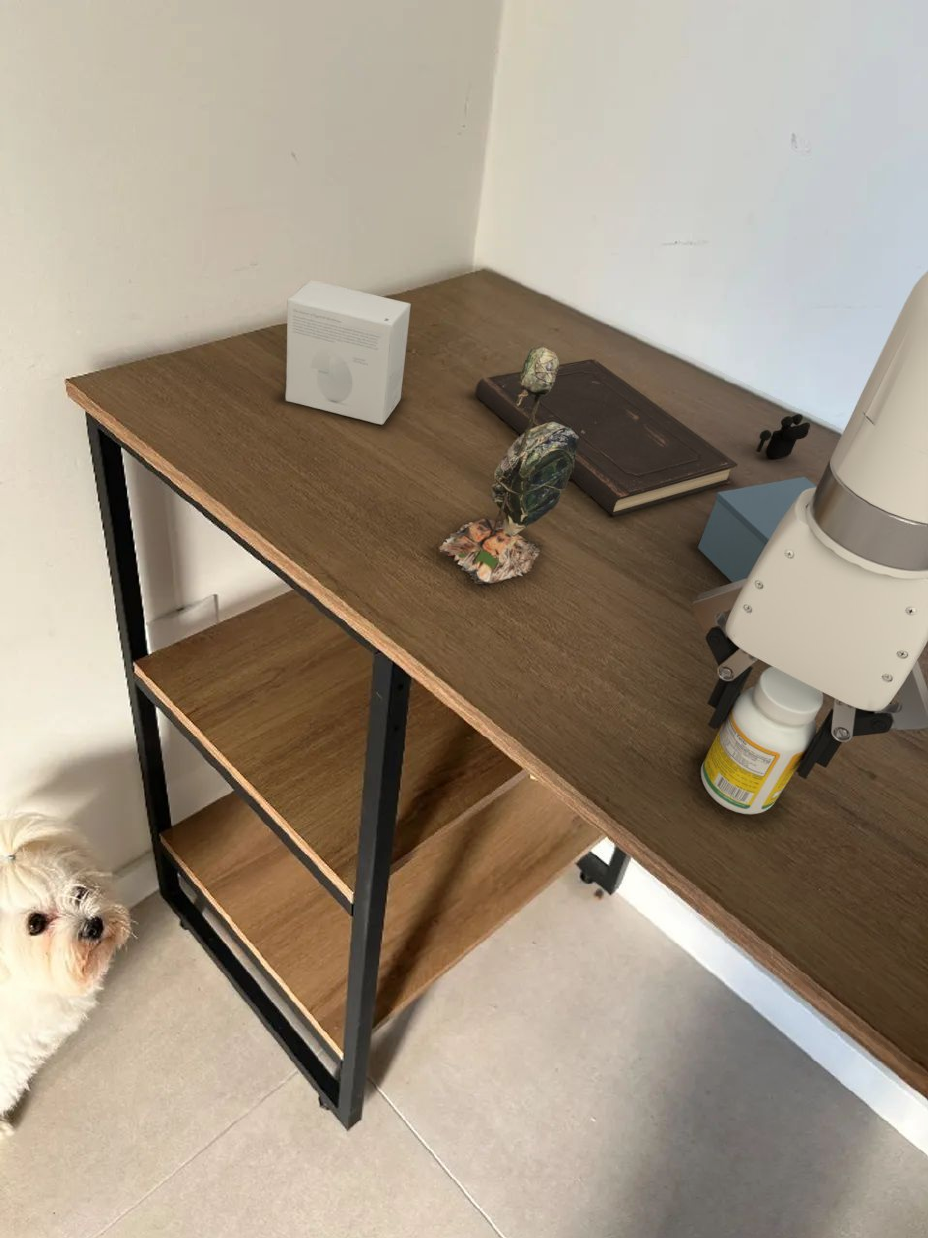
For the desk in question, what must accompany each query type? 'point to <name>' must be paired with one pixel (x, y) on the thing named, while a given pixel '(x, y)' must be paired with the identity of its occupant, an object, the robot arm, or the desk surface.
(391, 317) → the cosmetics box
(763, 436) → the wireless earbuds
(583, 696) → the desk surface
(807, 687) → the supplement bottle
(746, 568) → the blue box
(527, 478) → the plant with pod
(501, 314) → the desk surface
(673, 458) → the hardcover book
